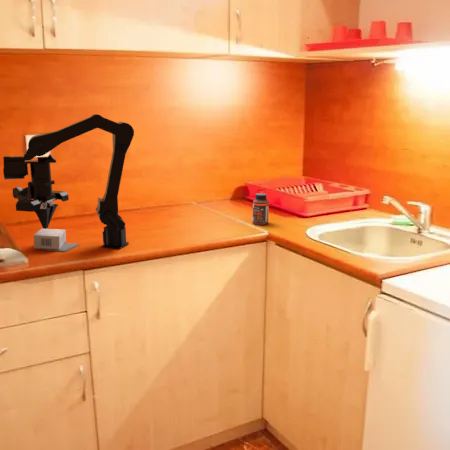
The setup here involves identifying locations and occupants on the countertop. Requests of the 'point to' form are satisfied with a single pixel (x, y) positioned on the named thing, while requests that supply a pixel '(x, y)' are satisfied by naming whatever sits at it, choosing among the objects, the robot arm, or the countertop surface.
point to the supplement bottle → (260, 209)
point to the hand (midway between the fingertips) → (45, 228)
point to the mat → (64, 247)
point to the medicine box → (49, 238)
